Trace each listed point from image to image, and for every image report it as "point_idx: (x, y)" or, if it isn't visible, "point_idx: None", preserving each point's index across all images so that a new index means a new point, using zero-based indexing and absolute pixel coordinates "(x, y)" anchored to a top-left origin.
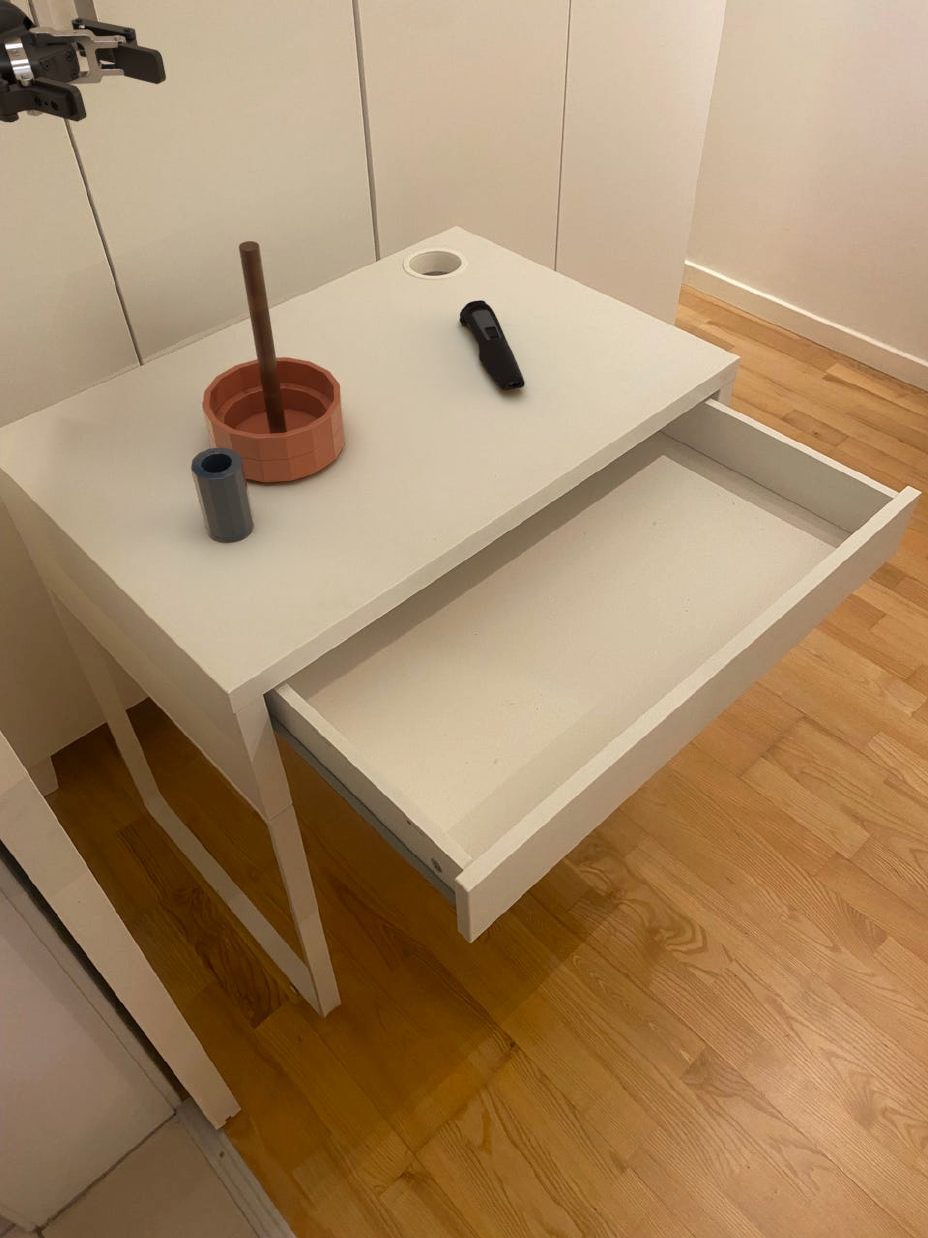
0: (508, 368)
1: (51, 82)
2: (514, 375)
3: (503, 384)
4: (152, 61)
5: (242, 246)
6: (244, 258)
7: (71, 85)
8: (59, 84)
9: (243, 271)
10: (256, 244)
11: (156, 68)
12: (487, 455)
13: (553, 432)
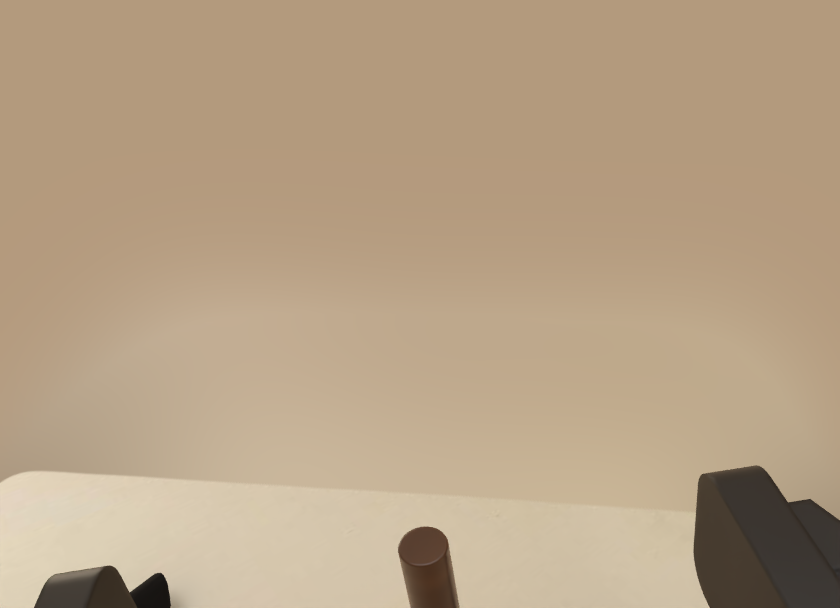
0: (142, 594)
1: (824, 603)
2: (159, 577)
3: (167, 601)
4: (116, 605)
5: (436, 551)
6: (450, 556)
7: (731, 489)
8: (789, 539)
9: (453, 592)
10: (407, 538)
11: (135, 606)
12: (315, 560)
13: (229, 530)
